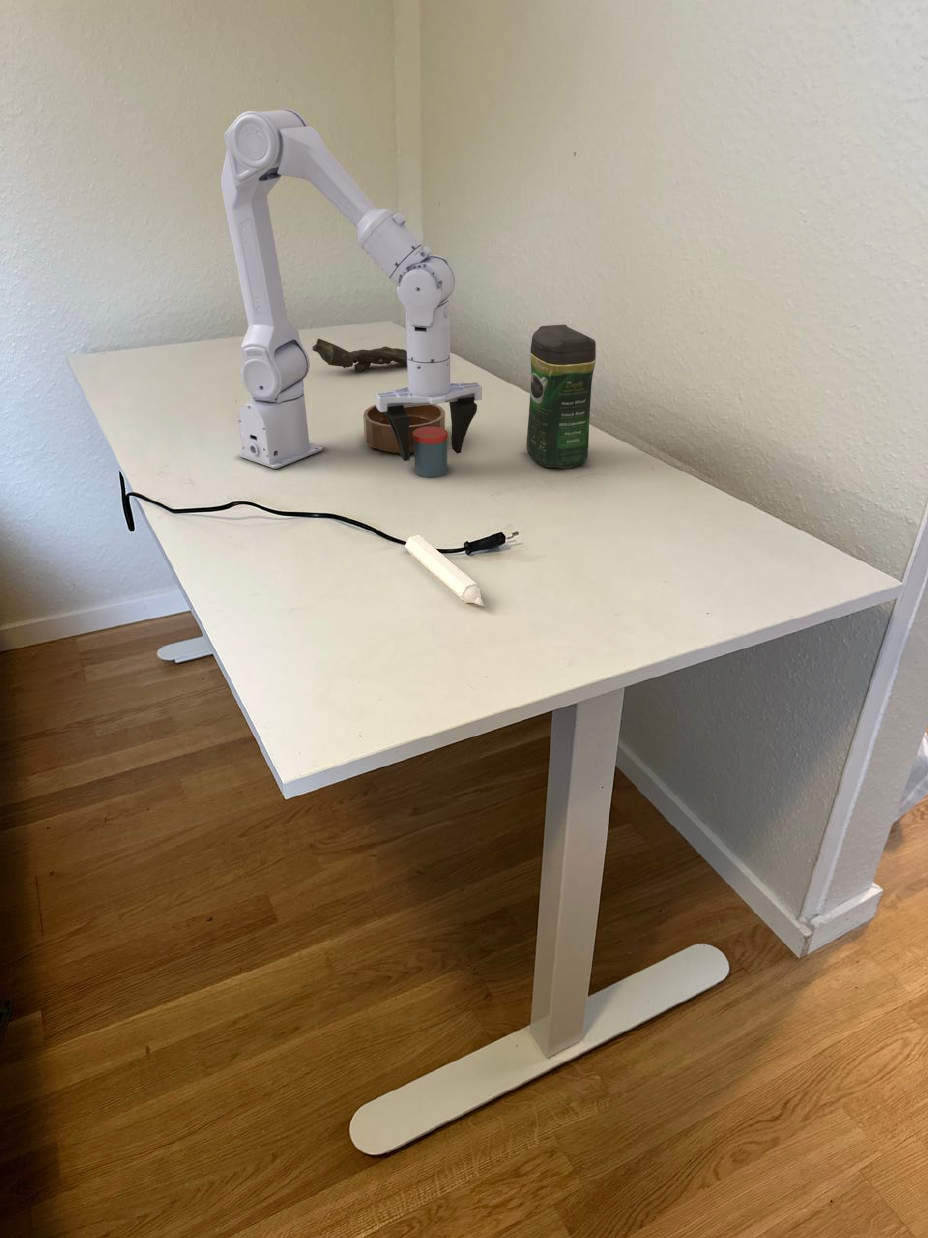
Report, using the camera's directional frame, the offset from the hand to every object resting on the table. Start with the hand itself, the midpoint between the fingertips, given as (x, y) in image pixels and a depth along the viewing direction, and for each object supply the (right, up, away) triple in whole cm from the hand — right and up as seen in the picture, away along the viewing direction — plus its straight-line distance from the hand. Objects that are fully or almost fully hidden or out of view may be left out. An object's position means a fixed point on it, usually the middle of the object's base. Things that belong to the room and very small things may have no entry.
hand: (430, 454), depth 120 cm
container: (0, -2, +1) cm, 3 cm away
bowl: (-4, +4, +11) cm, 13 cm away
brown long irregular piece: (-14, +24, +43) cm, 51 cm away
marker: (+3, -19, -25) cm, 32 cm away
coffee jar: (+18, 0, +5) cm, 19 cm away
